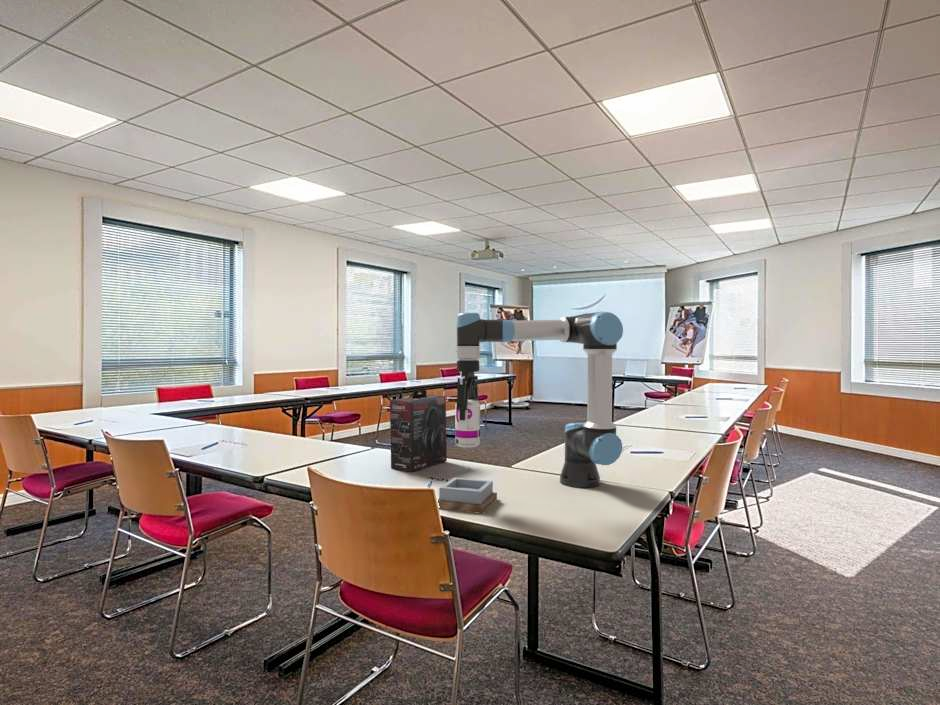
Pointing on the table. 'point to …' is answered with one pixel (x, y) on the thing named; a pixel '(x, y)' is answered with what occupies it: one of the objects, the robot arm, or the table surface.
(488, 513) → the table surface
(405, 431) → the headset box
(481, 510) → the walnut slab
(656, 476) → the table surface
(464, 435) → the supplement can
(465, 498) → the grey rimmed block
